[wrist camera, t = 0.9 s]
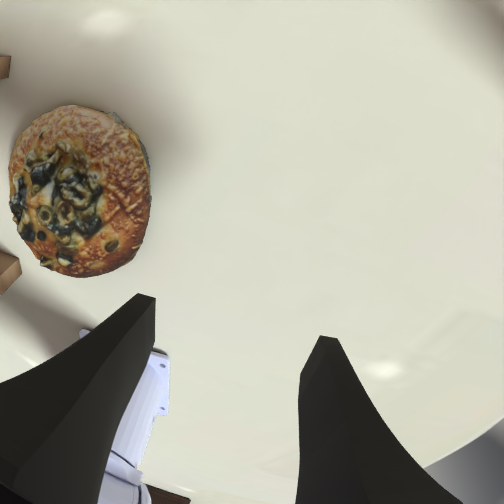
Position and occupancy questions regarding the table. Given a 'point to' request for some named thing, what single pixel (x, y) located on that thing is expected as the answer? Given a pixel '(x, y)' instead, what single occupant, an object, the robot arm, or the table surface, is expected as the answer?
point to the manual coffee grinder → (165, 496)
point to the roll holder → (3, 265)
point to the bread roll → (80, 191)
